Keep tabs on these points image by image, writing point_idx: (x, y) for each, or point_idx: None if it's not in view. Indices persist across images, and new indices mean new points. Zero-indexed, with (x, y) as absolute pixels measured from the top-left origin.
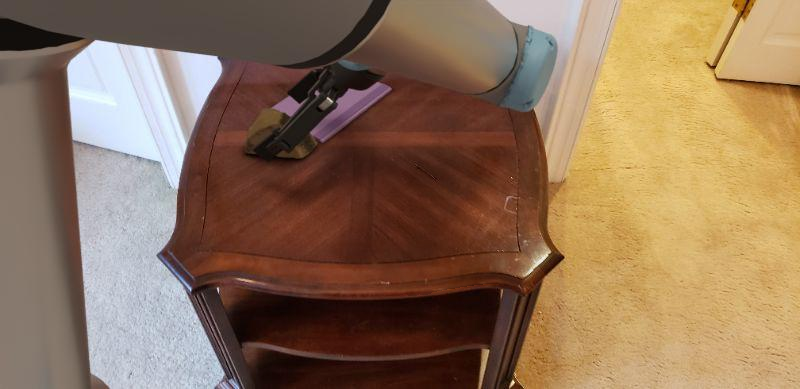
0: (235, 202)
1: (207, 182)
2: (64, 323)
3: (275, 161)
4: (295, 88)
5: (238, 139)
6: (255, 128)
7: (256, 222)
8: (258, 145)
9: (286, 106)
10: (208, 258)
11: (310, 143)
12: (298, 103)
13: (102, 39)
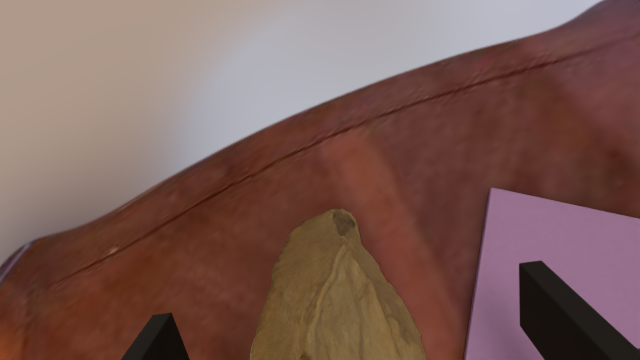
0: (161, 293)
1: (209, 198)
2: None
3: None
4: (554, 311)
5: (357, 180)
6: (295, 247)
7: None
8: (127, 350)
9: (539, 227)
10: (8, 327)
11: None
12: (578, 255)
13: None
